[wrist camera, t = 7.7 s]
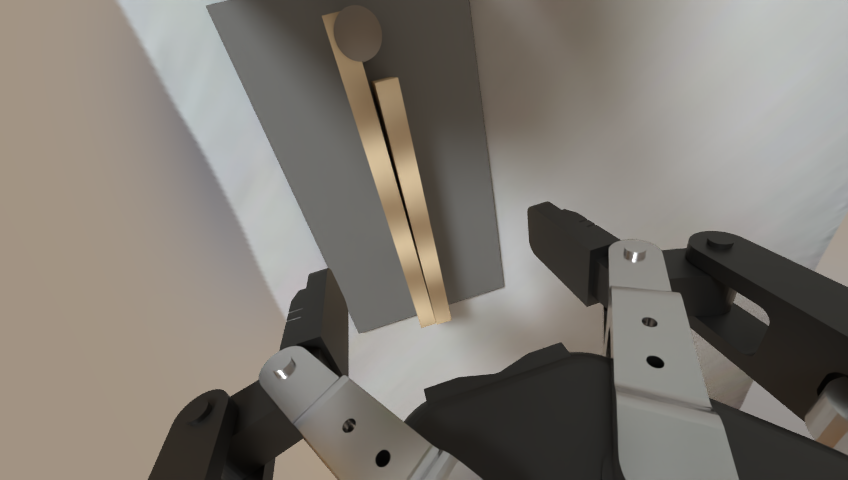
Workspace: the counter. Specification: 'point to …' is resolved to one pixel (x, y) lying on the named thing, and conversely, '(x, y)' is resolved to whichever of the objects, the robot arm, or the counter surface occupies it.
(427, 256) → the bar
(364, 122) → the tongs
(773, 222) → the counter surface
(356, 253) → the mat
